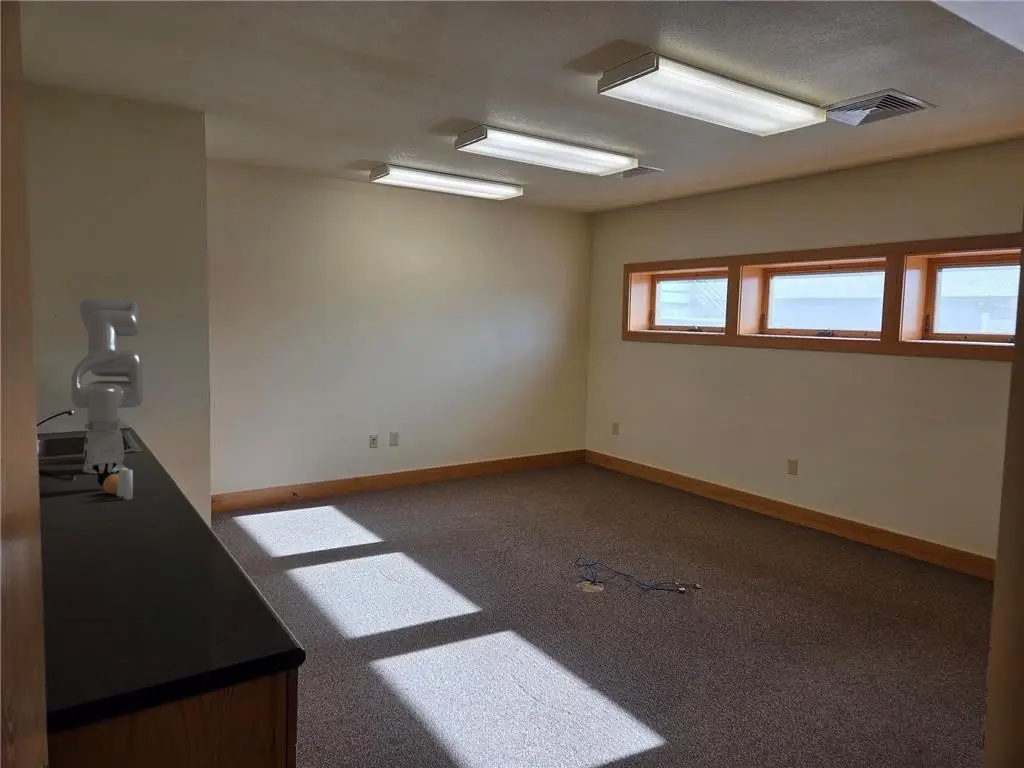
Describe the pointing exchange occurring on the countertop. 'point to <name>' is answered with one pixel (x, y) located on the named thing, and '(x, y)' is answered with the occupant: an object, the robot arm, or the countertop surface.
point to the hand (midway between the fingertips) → (103, 484)
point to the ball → (111, 484)
